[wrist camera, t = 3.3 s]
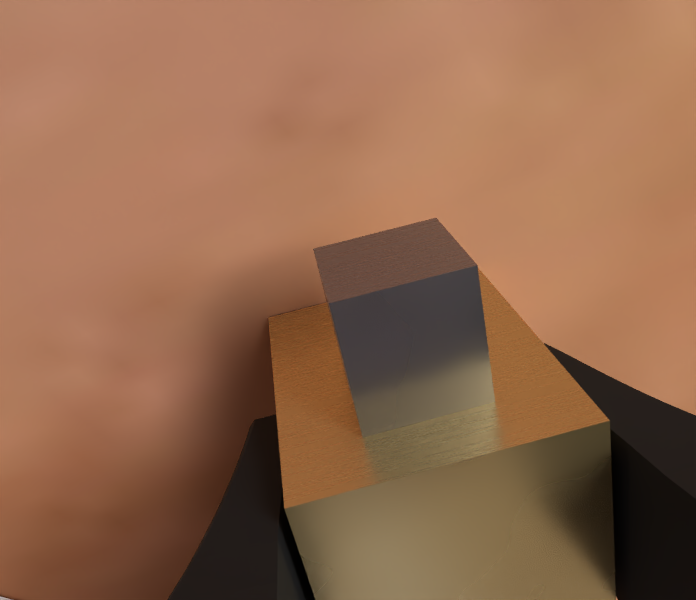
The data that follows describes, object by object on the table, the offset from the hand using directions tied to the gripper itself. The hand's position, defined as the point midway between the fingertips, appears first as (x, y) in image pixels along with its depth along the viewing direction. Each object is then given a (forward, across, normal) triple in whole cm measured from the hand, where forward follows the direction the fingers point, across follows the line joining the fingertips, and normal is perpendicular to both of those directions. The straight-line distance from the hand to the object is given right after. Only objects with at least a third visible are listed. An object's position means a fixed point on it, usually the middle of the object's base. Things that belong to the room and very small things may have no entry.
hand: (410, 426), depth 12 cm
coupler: (+2, 0, 0) cm, 2 cm away
